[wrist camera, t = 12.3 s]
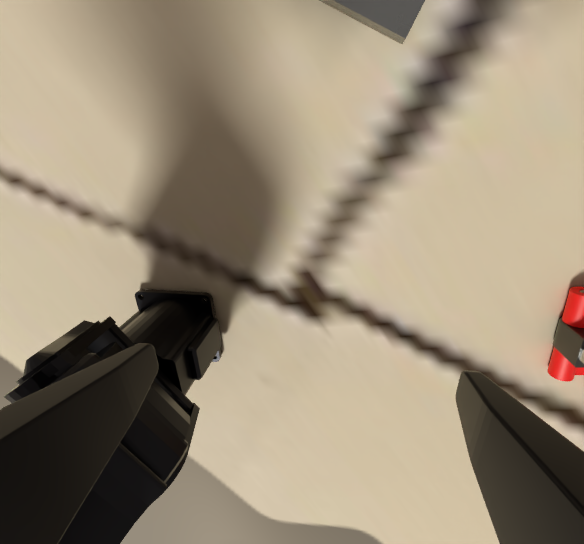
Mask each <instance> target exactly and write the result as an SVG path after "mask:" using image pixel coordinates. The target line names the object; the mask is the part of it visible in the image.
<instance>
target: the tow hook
mask: <svg viewBox="0 0 584 544" xmlns="http://www.w3.org/2000/svg"><path fill="white" fill-rule="evenodd" d="M553 346H554V349H553V352H552V356H551V360H550V363H549V367H548V373H549V374H550V375H551V376H552V377H554V378H555V379H558V380H561V381H572V380H573V378H574V375H584V287H571V288H570V291H569V294H568V298H567V302H566V305H565V309H564V313H563V316H562V317H561V318H560V319H559V323H558V327H557V330H556V334H555V338H554V341H553Z"/></svg>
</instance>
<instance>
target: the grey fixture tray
mask: <svg viewBox="0 0 584 544" xmlns="http://www.w3.org/2000/svg"><path fill="white" fill-rule="evenodd" d="M320 1H322V2H323V3H325V4H327V5H329V6H331V7H333V8H335V9H337V10H339V11H340V12H342V13H344V14H346V15H348V16H350V17H352V18H354V19H356V20H357V21H359V22H361V23H363V24H365V25H367V26H369V27H371V28H373V29H374V30H376V31H378V32H380V33H382V34H384V35H386V36H388V37H390V38H391V39H393V40H395V41H397V42H399V43H401V44H403V42H404V40H405V39H406V37H407V35H408V33H409V31H410V29H411V27H412V25H413V23H414V21H415V19H416V17H417V15H418V13H419V11H420V9H421V7H422V5H423V3H424V1H425V0H320Z"/></svg>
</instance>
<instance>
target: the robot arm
mask: <svg viewBox="0 0 584 544" xmlns="http://www.w3.org/2000/svg"><path fill="white" fill-rule="evenodd" d="M141 295H142V296H143V297H142V296H141ZM135 298H136V302H137V305H138V309H139V311H138V312H137V313H136V314H134V315H133V316H132V317H131V318H130V319H129V320H127V321H126V322H125V323H124V324H123V325H121V326H120V327H118V326H117V325H116V324H115V323H116V322H115V321H114V320H113V319H112V318H111V317H108V318H107V319H106V320H104V321H103V322H101V323H100V322H99V321H97V322H96V323H92V322H88V321H83V322H82V323H80V324H79V325H77V326H76V327H75V328H73V329H72V330H70V331H69V332H67V333H66V334H65V335H63V336H62V337H60V338H59V339H57V340H56V341H54V342H52V343H51V344H49V345H48V346H46V347H45V348H43V349H42V350H40V351H39V352H37V353H36V354H34V355H33V356H32V357H30V358H29V359H27V360H26V364H25V369H24V375H23V377H22V378H20V379H19V380H18V381H17V383H18V384H19V385H18V386H16V387H15V388H14V389H13V390H11V391H10V392H9V393H8V394H6V395H5V396H4V397H5V398H6V399H7V400H8V401H9V402H11V403H12V404H10V405H8V406H6V407H3V408H2V409H1V410H0V544H120V543H121V541H122V540H123V539H124V537H125V536H126V534H127V533H128V532H129V530H130V529H131V527H132V526H133V525H134V523H135V522H136V521H137V520H138V519H139V517H140V516H141V515H142V514H143V513H144V511H145V510H146V509H147V508H148V507H149V506H150V505H151V504H152V503H153V502H154V501H155V500H156V499H157V498H158V497H159V496H160V495H162V494H163V493H164V491H165V490H166V489H167V488H168V487H169V486H170V485H171V483H172V482H173V481H174V479H175V478H176V476H177V475H178V473H179V472H180V470H181V468H182V466H183V464H184V463H185V460H186V457H187V455H188V451H189V447H190V443H191V439H192V436H193V432H194V428H195V424H196V420H197V417H198V413H199V409H200V408H199V407H198V406H197V405H196V404H195V403H192V402H191V401H190V400H189V399H188V398H187V397H186V396H185V395H186V393H187V392H188V390H189V388H190V387H191V385H192V384H193V382H194V380H200V379H201V378H202V377H203V375H204V373H205V372H206V370H207V368H208V367H209V365H210V363H211V362H217V361H219V359H220V358H221V348H220V347H221V345H222V343H221V336H220V330H219V324H218V320H217V318H216V317H215V311H214V304H213V298H212V296H211V295H210V294H209V293H203V292H183V291H163V290H144V289H142V290H139V291H138V292H137V293H136V294H135ZM204 298H206V299H207V301H205V300H204ZM215 355H216V356H215ZM456 403H457V408H458V412H459V416H460V420H461V424H462V428H463V433H464V437H465V441H466V445H467V449H468V453H469V457H470V461H471V464H472V467H473V470H474V473H475V475H476V478H477V481H478V484H479V487H480V489H481V492H482V495H483V498H484V501H485V503H486V506H487V509H488V512H489V515H490V517H491V520H492V523H493V526H494V529H495V531H496V534H497V537H498V540H499V543H500V544H584V452H583V451H582V450H581V449H579V448H578V447H577V446H576V445H574V444H573V443H572V442H570V441H569V440H568V439H567V438H565V437H564V436H563V435H561V434H560V433H559V432H557V431H556V430H555V429H554V428H552V427H551V426H550V425H548V424H547V423H546V422H545V421H543V420H542V419H541V418H539V417H538V416H537V415H535V414H534V413H533V412H532V411H530V410H529V409H528V408H526V407H525V406H524V405H523V404H521V403H520V402H519V401H517V400H516V399H515V398H513V397H512V396H511V395H510V394H508V393H507V392H506V391H504V390H503V389H502V388H501V387H499V386H498V385H497V384H495V383H494V382H493V381H491V380H490V379H489V378H488V377H486V376H485V375H484V374H482V373H481V372H478V371H467V370H465V371H463V372H462V373H461V375H460V379H459V383H458V387H457V391H456Z"/></svg>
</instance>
